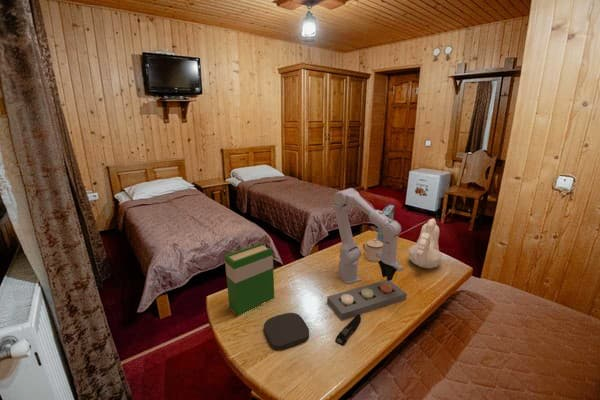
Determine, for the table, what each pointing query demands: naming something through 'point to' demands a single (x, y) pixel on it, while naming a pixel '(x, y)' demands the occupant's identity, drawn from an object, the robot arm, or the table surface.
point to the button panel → (365, 305)
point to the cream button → (347, 299)
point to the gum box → (389, 213)
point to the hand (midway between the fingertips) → (387, 278)
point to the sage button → (367, 293)
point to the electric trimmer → (348, 330)
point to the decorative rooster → (426, 247)
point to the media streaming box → (286, 331)
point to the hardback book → (249, 277)
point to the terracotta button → (386, 288)
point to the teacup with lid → (373, 249)
